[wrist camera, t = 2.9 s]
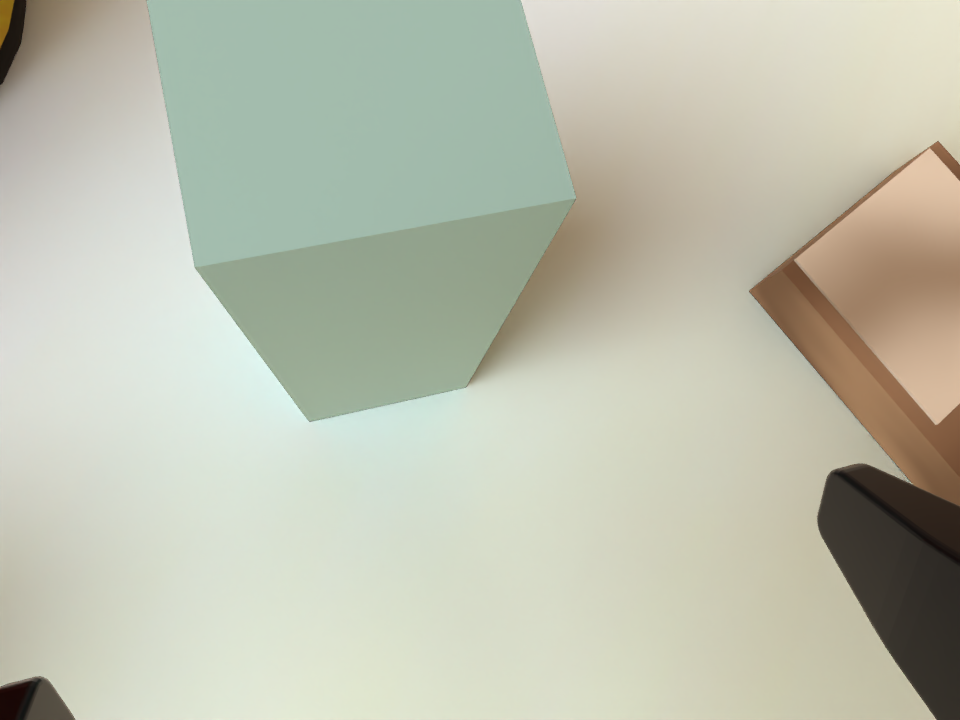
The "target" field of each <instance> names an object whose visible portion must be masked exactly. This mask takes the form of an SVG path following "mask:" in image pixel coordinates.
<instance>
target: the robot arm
mask: <svg viewBox="0 0 960 720" xmlns="http://www.w3.org/2000/svg"><path fill="white" fill-rule="evenodd" d="M817 522H818V528H819V531H820V534H821V536H822V538H823V540H824V542H825V543H826V545H827V547H828V549H829V550H830V552H831V554H832V556H833V557H834V559H835V561H836V563H837V564H838V566H839V568H840V570H841V571H842V573H843V575H844V577H845V578H846V580H847V582H848V584H849V585H850V587H851V589H852V591H853V592H854V594H855V596H856V598H857V599H858V601H859V603H860V605H861V606H862V608H863V610H864V612H865V613H866V615H867V617H868V619H869V620H870V622H871V624H872V626H873V627H874V629H875V631H876V632H877V634H878V635H879V637H880V639H881V640H882V642H883V644H884V645H885V647H886V648H887V650H888V651H889V653H890V654H891V656H892V657H893V659H894V660H895V662H896V663H897V665H898V666H899V667H900V669H901V670H902V672H903V673H904V674H905V676H906V677H907V679H908V680H909V681H910V683H911V684H912V686H913V687H914V688H915V690H916V691H917V693H918V694H919V696H920V697H921V698H922V700H923V701H924V703H925V704H926V705H927V707H928V708H929V710H930V711H931V712H932V714H933V715H934V717H935V718H936V719H937V720H960V506H959V505H957V504H955V503H952V502H950V501H948V500H946V499H943V498H941V497H939V496H937V495H935V494H932V493H930V492H928V491H926V490H923V489H921V488H919V487H917V486H915V485H912V484H910V483H908V482H906V481H903V480H901V479H899V478H897V477H895V476H892V475H890V474H888V473H886V472H883V471H881V470H879V469H877V468H875V467H872V466H870V465H867V464H854V465H850V466H846V467H842V468H838V469H835V470H833V471H831V472H830V473H829V475H828V476H827V479H826V482H825V487H824V491H823V495H822V499H821V503H820V507H819V511H818V516H817ZM0 720H75V718H74V716H73V715H72V713H71V712H70V710H69V709H68V707H67V706H66V704H65V703H64V702H63V700H62V699H61V697H60V696H59V694H58V693H57V691H56V690H55V688H54V687H53V685H52V684H51V683H50V682H49V680H48V679H46V678H44V677H41V676H39V677H33V678H29V679H25V680H21V681H17V682H13V683H9V684H6V685H4V686H1V687H0Z"/></svg>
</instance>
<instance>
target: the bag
mask: <svg viewBox="0 0 960 720" xmlns="http://www.w3.org/2000/svg"><path fill="white" fill-rule="evenodd" d="M25 10H26V0H0V85H1V84H2V83H3V81H4V79H5V77H6V75H7V72H8V70H9V68H10V66H11V64H12V61H13V59H14V57H15V55H16V53H17V51H18V48H19V46H20V44H21V39H22V33H23V26H24V18H25Z"/></svg>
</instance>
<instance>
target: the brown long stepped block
mask: <svg viewBox="0 0 960 720" xmlns="http://www.w3.org/2000/svg"><path fill="white" fill-rule="evenodd" d="M749 292H750V293H751V294H752V295H753V296H754V298H755V299H756V300H757V301H758V302H759V303H760V305H761V306H762V307H763V308H764V309H765V311H766V312H767V313H768V314H769V315H770V316H771V318H772V319H773V320H774V321H775V322H776V323H777V325H778V326H779V327H780V328H781V329H782V331H783V332H784V333H785V334H786V335H787V336H788V338H789V339H790V340H791V341H792V342H793V343H794V345H795V346H796V347H797V348H798V349H799V351H800V352H801V353H802V354H803V355H804V356H805V358H806V359H807V360H808V361H809V362H810V364H811V365H812V366H813V367H814V368H815V369H816V371H817V372H818V373H819V374H820V375H821V376H822V378H823V379H824V380H825V381H826V382H827V384H828V385H829V386H830V387H831V388H832V389H833V391H834V392H835V393H836V394H837V395H838V396H839V398H840V399H841V400H842V401H843V402H844V404H845V405H846V406H847V407H848V408H849V409H850V411H851V412H852V413H853V414H854V415H855V416H856V418H857V419H858V420H859V421H860V422H861V424H862V425H863V426H864V427H865V428H866V429H867V431H868V432H869V433H870V434H871V435H872V436H873V438H874V439H875V440H876V441H877V442H878V444H879V445H880V446H881V447H882V448H883V449H884V451H885V452H886V453H887V454H888V455H889V456H890V458H891V459H892V460H893V461H894V462H895V464H896V465H897V466H898V467H899V468H900V469H901V471H902V472H903V473H904V474H905V475H906V476H907V478H908V479H909V480H910V481H911V482H912V484H913V485H915V486H917V487H919V488H921V489H923V490H926V491H928V492H930V493H932V494H935V495H937V496H939V497H941V498H943V499H946V500H948V501H950V502H952V503H955V504H957V505H959V506H960V165H959V164H958V162H957V161H956V160H955V159H954V158H953V157H952V156H951V155H950V154H949V152H948V151H947V150H946V149H945V148H944V147H943V146H942V145H941V144H940V142H939V141H937V142H936V143H934V144H933V145H932V146H930V147H929V148H927V149H926V150H924V151H923V152H922V153H920V154H919V155H917V156H916V157H914V158H913V159H911V160H910V161H909V162H907V163H906V164H904V165H903V166H901V167H900V168H899V169H897V170H896V171H894V172H893V173H892V174H891V175H890V176H888V177H887V178H886V179H885V180H883V181H882V182H881V183H880V184H879V185H877V186H876V187H875V188H874V189H872V190H871V191H870V192H869V193H868V194H866V195H865V196H864V197H863V198H862V199H860V200H859V201H858V202H857V203H855V204H854V205H853V206H852V207H851V208H849V209H848V210H847V211H846V212H845V213H843V214H842V215H841V216H840V217H838V218H837V219H836V220H835V221H834V222H832V223H831V224H830V225H829V226H828V227H826V228H825V229H824V230H823V231H821V232H820V233H819V234H818V235H817V236H815V237H814V238H813V239H812V240H811V241H809V242H808V243H807V244H806V245H804V246H803V247H802V248H801V249H800V250H798V251H797V252H796V253H795V254H793V255H792V256H791V257H790V258H789V259H787V260H786V261H785V262H784V263H783V264H781V265H780V266H779V267H778V268H776V269H775V270H774V271H773V272H772V273H770V274H769V275H768V276H767V277H766V278H764V279H763V280H762V281H761V282H759V283H758V284H757V285H756V286H755V287H753V288H752V289H751V290H750V291H749Z"/></svg>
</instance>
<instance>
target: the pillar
mask: <svg viewBox="0 0 960 720" xmlns="http://www.w3.org/2000/svg"><path fill="white" fill-rule="evenodd" d="M147 5H148V11H149V16H150V22H151V27H152V33H153V38H154V44H155V49H156V55H157V61H158V66H159V72H160V77H161V83H162V88H163V94H164V99H165V105H166V110H167V116H168V122H169V127H170V133H171V138H172V144H173V149H174V155H175V160H176V166H177V171H178V177H179V183H180V188H181V194H182V199H183V205H184V210H185V216H186V221H187V227H188V232H189V238H190V244H191V249H192V255H193V260H194V266H195V268H196V270H197V271H198V272H199V274H200V275H201V277H202V278H203V279H204V281H205V282H206V283H207V285H208V286H209V287H210V289H211V290H212V291H213V293H214V294H215V295H216V297H217V298H218V300H219V301H220V302H221V304H222V305H223V306H224V308H225V309H226V310H227V312H228V313H229V314H230V316H231V317H232V318H233V320H234V321H235V322H236V324H237V325H238V327H239V328H240V329H241V331H242V332H243V333H244V335H245V336H246V337H247V339H248V340H249V341H250V343H251V344H252V345H253V347H254V348H255V349H256V351H257V352H258V354H259V355H260V356H261V358H262V359H263V360H264V362H265V363H266V364H267V366H268V367H269V368H270V370H271V371H272V372H273V374H274V375H275V376H276V378H277V379H278V381H279V382H280V383H281V385H282V386H283V387H284V389H285V390H286V391H287V393H288V394H289V395H290V397H291V398H292V399H293V401H294V402H295V403H296V405H297V406H298V408H299V409H300V410H301V412H302V413H303V414H304V416H305V417H306V418H307V420H308V421H309V422H311V421H316V420H320V419H325V418H330V417H334V416H339V415H343V414H348V413H352V412H357V411H361V410H366V409H370V408H375V407H379V406H384V405H389V404H393V403H398V402H402V401H407V400H411V399H416V398H420V397H425V396H429V395H434V394H438V393H443V392H448V391H452V390H457V389H461V388H466V386H467V384H468V383H469V381H470V379H471V378H472V376H473V374H474V372H475V371H476V369H477V367H478V366H479V364H480V362H481V360H482V359H483V357H484V355H485V354H486V352H487V350H488V348H489V347H490V345H491V343H492V342H493V340H494V338H495V337H496V335H497V333H498V331H499V330H500V328H501V326H502V325H503V323H504V321H505V319H506V318H507V316H508V314H509V313H510V311H511V309H512V307H513V306H514V304H515V302H516V301H517V299H518V297H519V296H520V294H521V292H522V290H523V289H524V287H525V285H526V284H527V282H528V280H529V278H530V277H531V275H532V273H533V272H534V270H535V268H536V266H537V265H538V263H539V261H540V260H541V258H542V256H543V255H544V253H545V251H546V249H547V248H548V246H549V244H550V243H551V241H552V239H553V237H554V236H555V234H556V232H557V231H558V229H559V227H560V225H561V224H562V222H563V220H564V219H565V217H566V215H567V214H568V212H569V210H570V208H571V207H572V205H573V203H574V202H575V200H576V195H575V191H574V188H573V184H572V181H571V177H570V173H569V170H568V166H567V163H566V159H565V156H564V152H563V149H562V145H561V142H560V138H559V134H558V131H557V127H556V124H555V120H554V117H553V113H552V110H551V106H550V103H549V99H548V95H547V92H546V88H545V85H544V81H543V78H542V74H541V71H540V67H539V64H538V60H537V57H536V53H535V49H534V46H533V42H532V39H531V35H530V32H529V28H528V25H527V21H526V18H525V14H524V10H523V7H522V3H521V0H147Z"/></svg>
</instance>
